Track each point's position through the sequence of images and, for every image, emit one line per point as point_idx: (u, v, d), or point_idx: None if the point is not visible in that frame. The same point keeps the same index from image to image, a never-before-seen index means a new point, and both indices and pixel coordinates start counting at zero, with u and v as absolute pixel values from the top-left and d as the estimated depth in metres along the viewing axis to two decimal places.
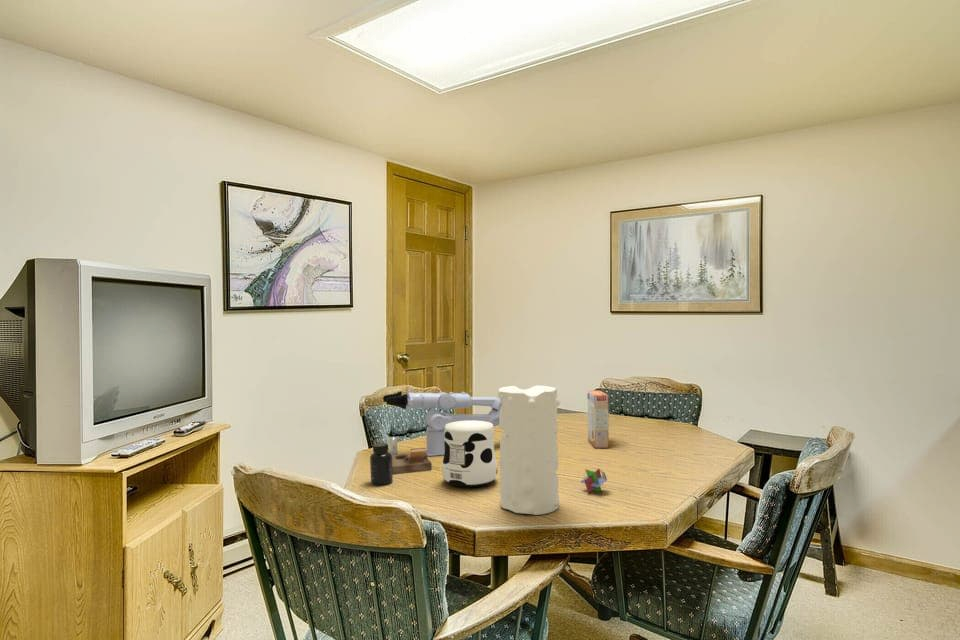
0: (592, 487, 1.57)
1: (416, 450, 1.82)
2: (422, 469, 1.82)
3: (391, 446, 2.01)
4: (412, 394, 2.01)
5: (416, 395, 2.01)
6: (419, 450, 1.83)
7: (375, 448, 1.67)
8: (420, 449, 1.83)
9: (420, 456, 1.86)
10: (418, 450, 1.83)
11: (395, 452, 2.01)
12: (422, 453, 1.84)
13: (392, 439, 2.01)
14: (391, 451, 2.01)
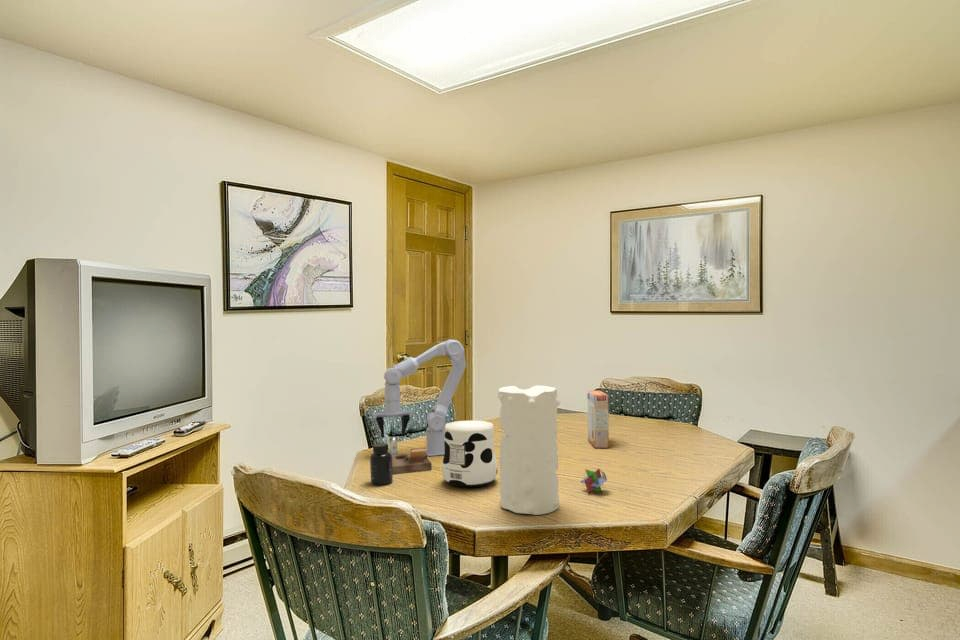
0: (592, 487, 1.57)
1: (416, 450, 1.82)
2: (422, 469, 1.82)
3: (391, 446, 2.01)
4: None
5: None
6: (419, 450, 1.83)
7: (375, 448, 1.67)
8: (420, 449, 1.83)
9: (420, 456, 1.86)
10: (418, 450, 1.83)
11: (395, 452, 2.01)
12: (422, 453, 1.84)
13: (392, 439, 2.01)
14: (391, 451, 2.01)
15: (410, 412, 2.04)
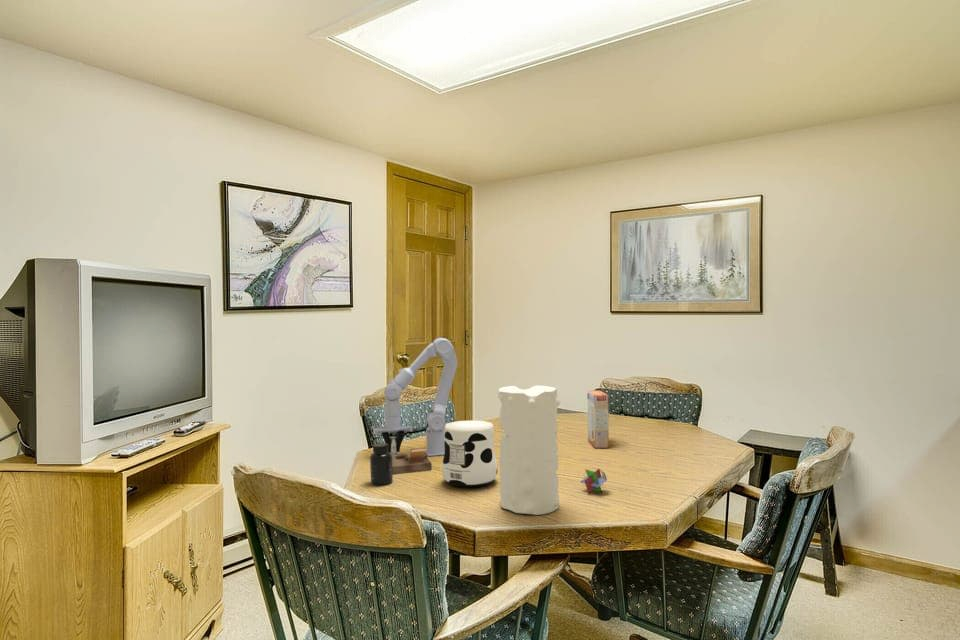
0: (592, 487, 1.57)
1: (416, 450, 1.82)
2: (422, 469, 1.82)
3: (391, 446, 2.01)
4: None
5: None
6: (419, 450, 1.83)
7: (375, 448, 1.67)
8: (420, 449, 1.83)
9: (420, 456, 1.86)
10: (418, 450, 1.83)
11: (395, 452, 2.01)
12: (422, 453, 1.84)
13: (392, 439, 2.01)
14: (391, 451, 2.01)
15: (410, 427, 2.04)
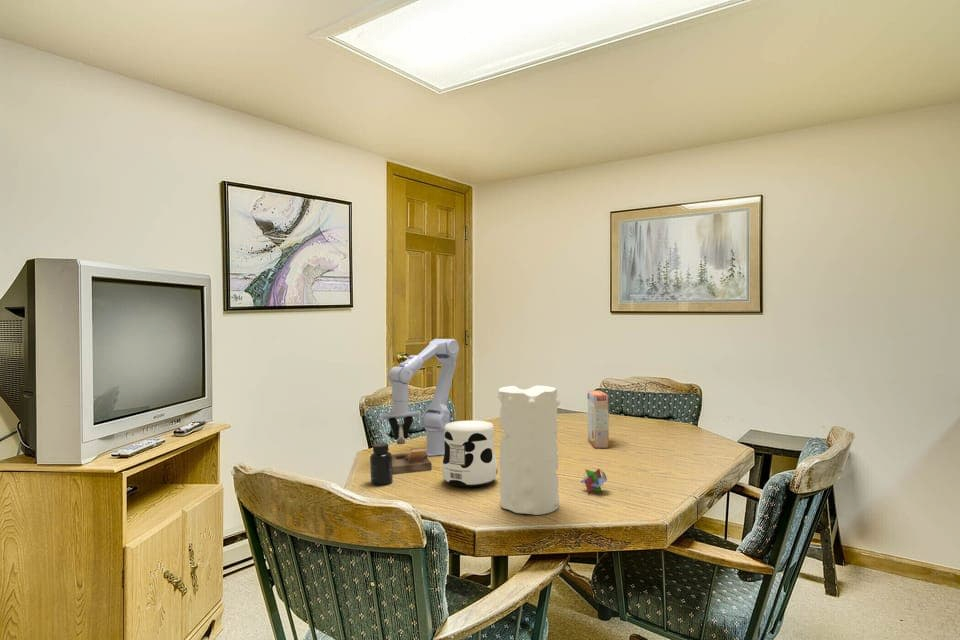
0: (592, 487, 1.57)
1: (416, 450, 1.82)
2: (422, 469, 1.82)
3: (398, 433, 1.90)
4: None
5: None
6: (419, 450, 1.83)
7: (375, 448, 1.67)
8: (420, 449, 1.83)
9: (420, 456, 1.86)
10: (418, 450, 1.83)
11: (403, 439, 1.91)
12: (422, 453, 1.84)
13: (399, 425, 1.91)
14: (398, 438, 1.90)
15: (419, 413, 1.93)
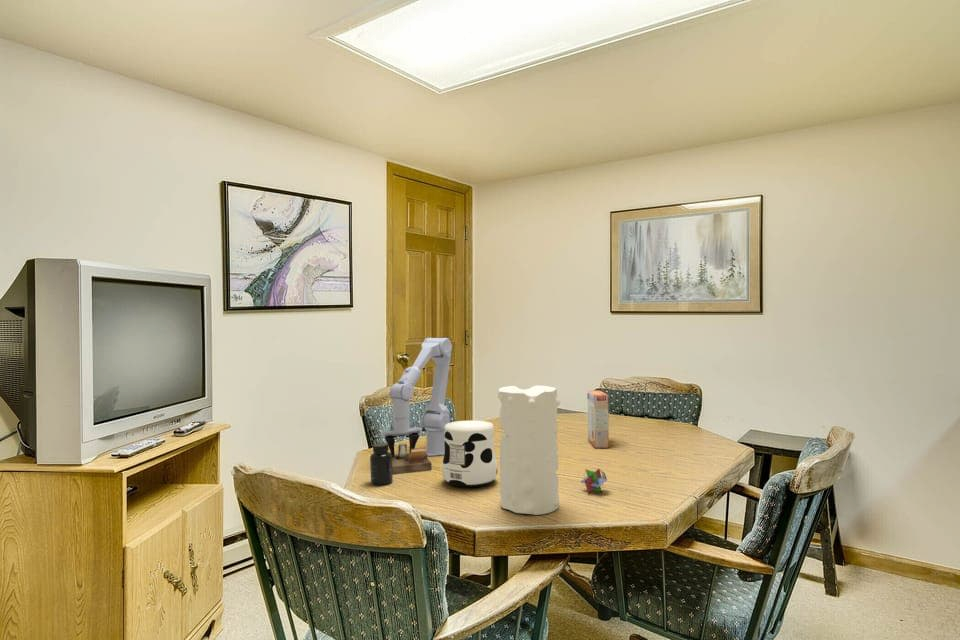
0: (592, 487, 1.57)
1: (416, 450, 1.82)
2: (422, 469, 1.82)
3: (401, 454, 1.89)
4: None
5: None
6: (419, 450, 1.83)
7: (375, 448, 1.67)
8: (420, 449, 1.83)
9: (420, 456, 1.86)
10: (418, 450, 1.83)
11: None
12: (422, 453, 1.84)
13: (402, 446, 1.89)
14: None
15: (420, 429, 1.92)
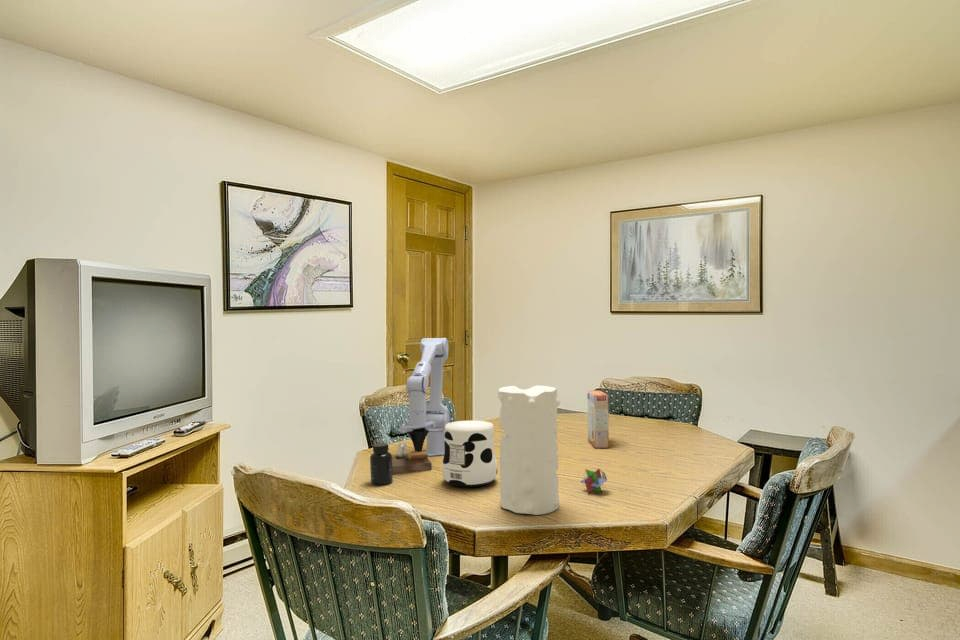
0: (592, 487, 1.57)
1: (416, 453, 1.82)
2: (422, 469, 1.82)
3: (400, 454, 1.89)
4: None
5: (409, 417, 1.83)
6: (419, 453, 1.82)
7: (375, 448, 1.67)
8: (420, 452, 1.82)
9: (420, 457, 1.85)
10: (418, 453, 1.82)
11: None
12: (423, 455, 1.84)
13: (401, 446, 1.89)
14: None
15: (434, 423, 1.88)
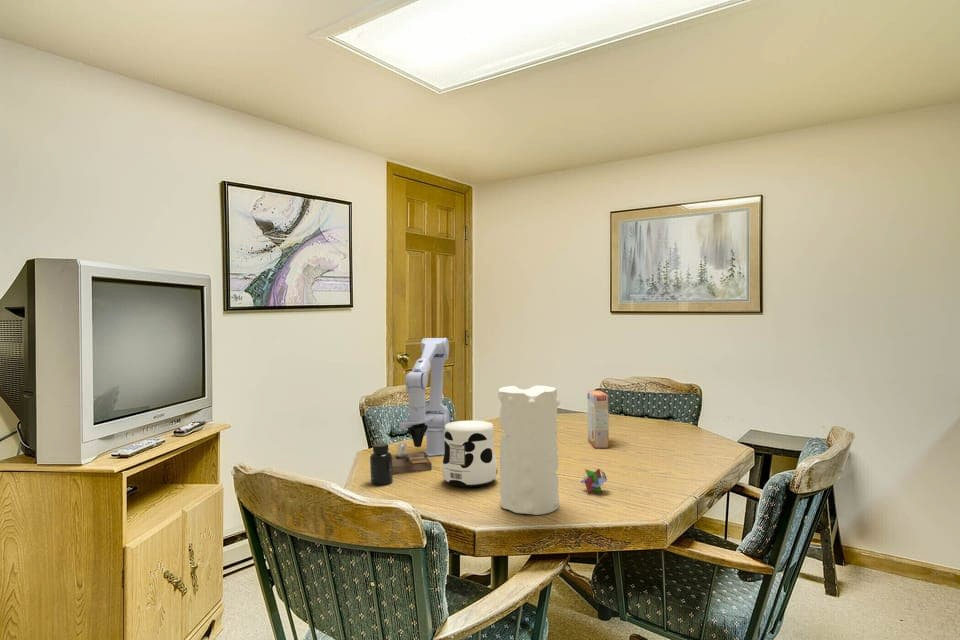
0: (592, 487, 1.57)
1: (417, 461, 1.81)
2: (422, 469, 1.82)
3: (400, 454, 1.89)
4: None
5: None
6: (420, 461, 1.81)
7: (375, 448, 1.67)
8: (421, 460, 1.82)
9: None
10: (419, 461, 1.81)
11: None
12: None
13: (401, 446, 1.89)
14: None
15: (433, 418, 1.88)
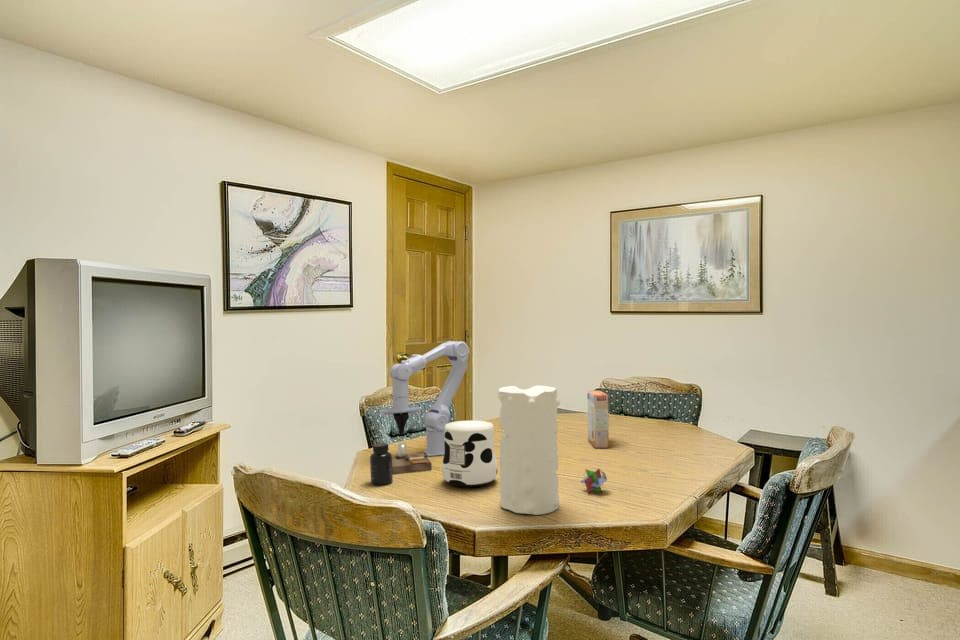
0: (592, 487, 1.57)
1: (417, 461, 1.81)
2: (422, 469, 1.82)
3: (400, 454, 1.89)
4: None
5: None
6: (420, 461, 1.81)
7: (375, 448, 1.67)
8: (421, 460, 1.82)
9: None
10: (419, 461, 1.81)
11: None
12: None
13: (401, 446, 1.89)
14: None
15: (418, 409, 1.99)
